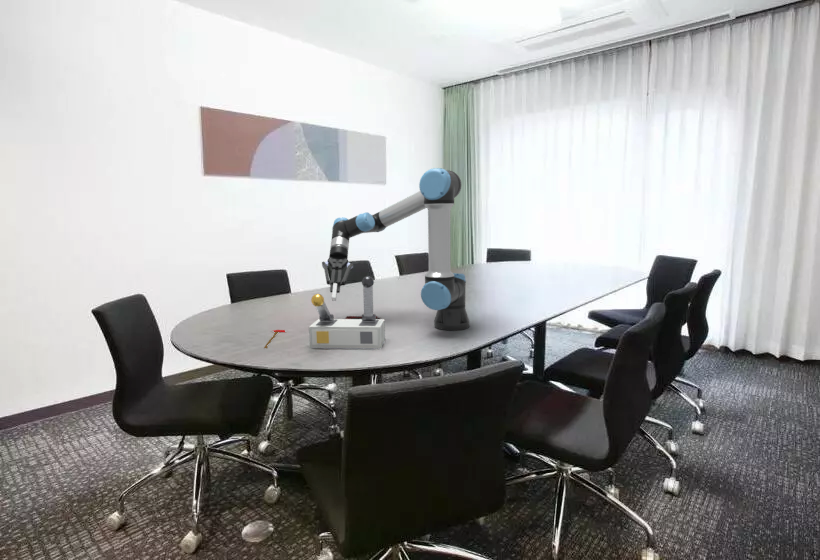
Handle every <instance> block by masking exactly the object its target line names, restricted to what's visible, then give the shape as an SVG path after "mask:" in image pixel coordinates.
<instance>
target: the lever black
mask: <svg viewBox="0 0 820 560" xmlns="http://www.w3.org/2000/svg"><path fill="white" fill-rule="evenodd" d="M374 283H375V280H374V278H373V277H372V276H370V275H366V276H364V277H363V278H362V279H361V285H362V291H363V296H362V297H363V314H361V316H362V321H376V316H377V315H376V314H374V292H373V291H374V289H373V287H374ZM373 314H374V315H373Z"/></svg>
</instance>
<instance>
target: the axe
mask: <svg viewBox="0 0 820 560" xmlns="http://www.w3.org/2000/svg"><path fill="white" fill-rule="evenodd" d="M285 330H286V329H274V330H273V331H274V332H275V333H274V332H273V335H272V336H273V337H272V336H271V337H270V338H269V340H268V341H267V342H266V344H265V346H264V348H266V349H268V346H269V345H270V344H271V342H272V341H273V340H274V339H275V338H276V336H277V335H278V334H279V333H286V332H285ZM278 332H279V333H278ZM277 333H278V334H277ZM276 334H277V335H276ZM275 335H276V336H275ZM273 338H274V339H273ZM272 339H273V340H272ZM271 340H272V341H271ZM270 341H271V342H270ZM269 343H270V344H269ZM268 344H269V345H268ZM267 345H268V346H267ZM264 348H263V349H264Z"/></svg>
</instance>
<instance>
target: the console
mask: <svg viewBox="0 0 820 560" xmlns="http://www.w3.org/2000/svg"><path fill="white" fill-rule="evenodd" d="M385 326H386V325H385V319H384V318H380V319H376V321H362V319H346V318H345V319H344V318H334V320H333V321H320V319H319V318H318V319H317V320H315V321H314V322H313V323H311V325H309V326H308V333H309V349H347V350H348V349H352V350H353V349H355V350H356V349H357V350H358V349H361V350H363V349H364V350H367V349H369V350H371V349H372V350H373V349H374V350H376V349H377V350H380V349H381V348H382V346H383V344H384V343H385V341H386V329H385V328H386V327H385ZM384 340H385V341H384Z"/></svg>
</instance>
